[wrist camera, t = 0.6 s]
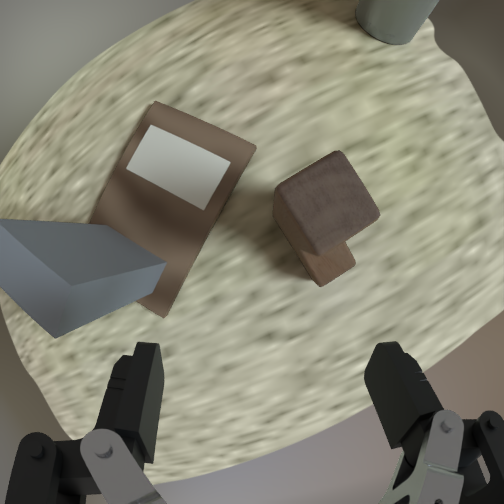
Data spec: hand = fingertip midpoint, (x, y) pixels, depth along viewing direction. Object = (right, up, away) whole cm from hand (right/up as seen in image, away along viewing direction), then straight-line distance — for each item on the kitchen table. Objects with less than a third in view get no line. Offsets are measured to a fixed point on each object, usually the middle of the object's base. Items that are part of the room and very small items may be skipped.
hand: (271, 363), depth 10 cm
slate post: (-15, +3, +23) cm, 28 cm away
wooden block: (+6, +6, +23) cm, 25 cm away
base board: (-12, +9, +24) cm, 28 cm away
